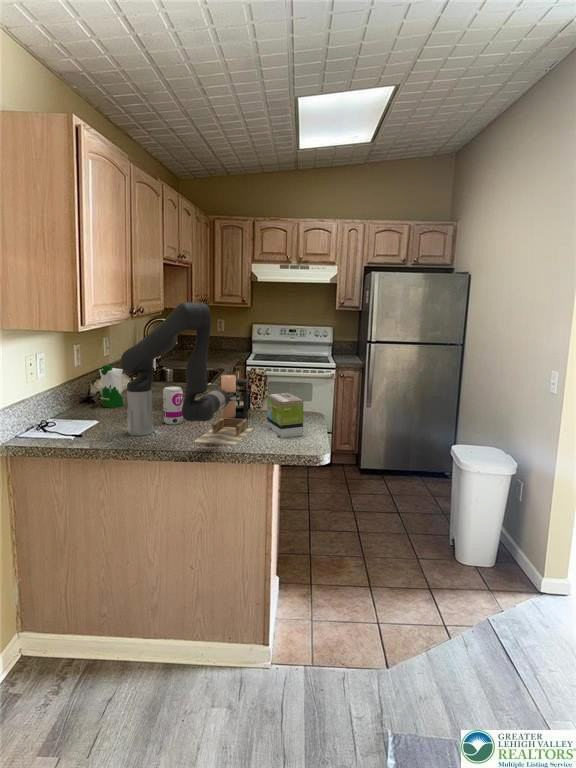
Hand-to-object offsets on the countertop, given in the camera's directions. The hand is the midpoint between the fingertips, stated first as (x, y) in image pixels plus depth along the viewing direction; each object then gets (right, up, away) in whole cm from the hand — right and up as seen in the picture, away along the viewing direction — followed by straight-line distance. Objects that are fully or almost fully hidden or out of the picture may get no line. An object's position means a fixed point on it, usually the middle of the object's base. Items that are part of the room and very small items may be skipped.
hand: (230, 392), depth 212 cm
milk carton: (-62, -8, +47) cm, 78 cm away
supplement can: (-26, -13, +17) cm, 34 cm away
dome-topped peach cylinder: (0, -9, 0) cm, 9 cm away
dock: (-2, -17, -4) cm, 18 cm away
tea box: (+21, -16, +4) cm, 27 cm away
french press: (+1, -12, +28) cm, 30 cm away
